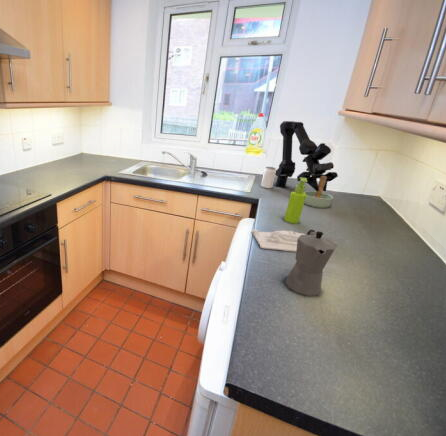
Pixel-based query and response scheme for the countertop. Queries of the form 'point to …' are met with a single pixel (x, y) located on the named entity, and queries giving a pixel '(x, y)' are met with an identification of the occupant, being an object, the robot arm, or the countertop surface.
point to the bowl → (318, 200)
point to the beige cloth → (277, 240)
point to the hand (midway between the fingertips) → (321, 191)
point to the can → (268, 177)
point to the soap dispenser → (296, 203)
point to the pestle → (320, 187)
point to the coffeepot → (310, 263)
